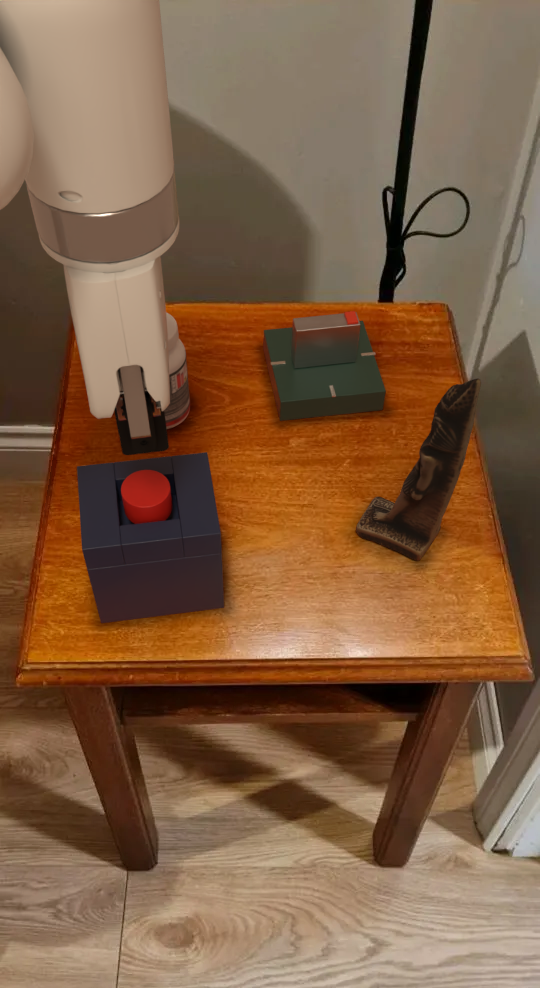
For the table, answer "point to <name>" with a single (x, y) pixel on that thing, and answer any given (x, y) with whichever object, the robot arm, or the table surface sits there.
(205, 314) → the table surface
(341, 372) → the panel
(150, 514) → the red button
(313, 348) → the tap handle
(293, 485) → the table surface
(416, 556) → the statue
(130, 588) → the button box
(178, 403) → the pill bottle
